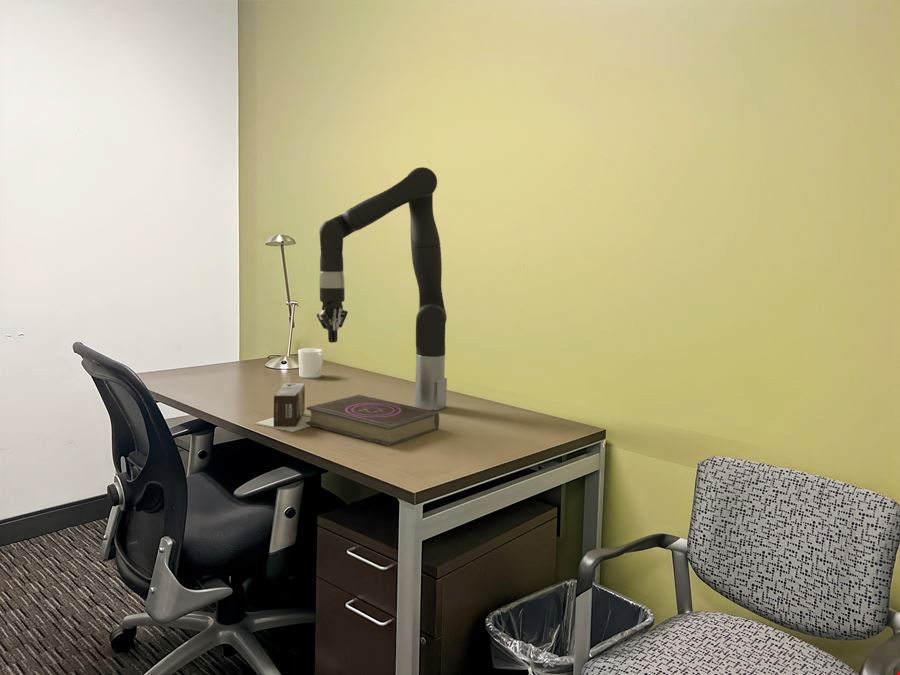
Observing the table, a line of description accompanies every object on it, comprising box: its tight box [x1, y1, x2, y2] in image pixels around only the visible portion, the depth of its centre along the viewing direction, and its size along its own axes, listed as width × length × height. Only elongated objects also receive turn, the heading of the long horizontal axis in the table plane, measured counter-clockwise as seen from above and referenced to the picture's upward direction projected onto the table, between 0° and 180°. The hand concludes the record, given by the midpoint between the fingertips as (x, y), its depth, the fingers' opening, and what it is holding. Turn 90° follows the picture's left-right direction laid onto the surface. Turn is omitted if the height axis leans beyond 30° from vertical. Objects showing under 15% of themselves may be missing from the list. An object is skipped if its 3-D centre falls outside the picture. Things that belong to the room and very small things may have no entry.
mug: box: [297, 347, 324, 380], centre depth 264 cm, size 11×9×10 cm
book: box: [305, 394, 440, 447], centre depth 197 cm, size 30×22×5 cm
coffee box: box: [273, 382, 306, 427], centre depth 200 cm, size 9×6×16 cm
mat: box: [255, 413, 313, 433], centre depth 200 cm, size 14×16×1 cm
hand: (333, 342), depth 214 cm, fingers closed
